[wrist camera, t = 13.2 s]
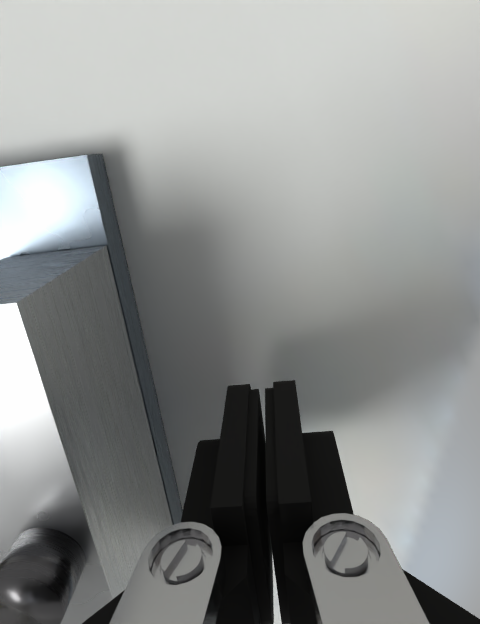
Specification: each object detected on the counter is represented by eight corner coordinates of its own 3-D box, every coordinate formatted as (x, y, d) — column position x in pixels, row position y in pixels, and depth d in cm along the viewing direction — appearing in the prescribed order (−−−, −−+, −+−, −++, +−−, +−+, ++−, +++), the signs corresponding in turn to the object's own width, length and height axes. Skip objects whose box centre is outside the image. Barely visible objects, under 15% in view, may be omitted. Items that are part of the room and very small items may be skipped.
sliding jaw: (181, 560, 14) (138, 775, 9) (103, 564, 14) (23, 776, 9) (105, 245, 10) (-26, 329, 6) (5, 257, 10) (-203, 348, 6)
